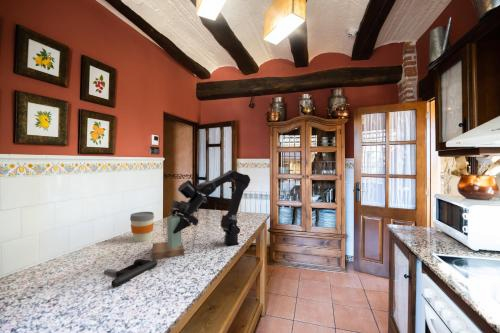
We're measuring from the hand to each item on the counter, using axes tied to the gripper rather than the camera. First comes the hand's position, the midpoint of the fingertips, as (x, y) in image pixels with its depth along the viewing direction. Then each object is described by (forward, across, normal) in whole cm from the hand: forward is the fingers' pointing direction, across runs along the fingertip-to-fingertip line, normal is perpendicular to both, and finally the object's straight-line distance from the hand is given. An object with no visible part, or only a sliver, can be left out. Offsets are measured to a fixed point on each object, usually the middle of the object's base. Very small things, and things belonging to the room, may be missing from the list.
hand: (171, 232), depth 108 cm
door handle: (+23, -2, -3) cm, 23 cm away
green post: (+4, 0, +6) cm, 7 cm away
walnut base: (+7, -12, +12) cm, 18 cm away
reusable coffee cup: (+9, -40, +10) cm, 42 cm away
